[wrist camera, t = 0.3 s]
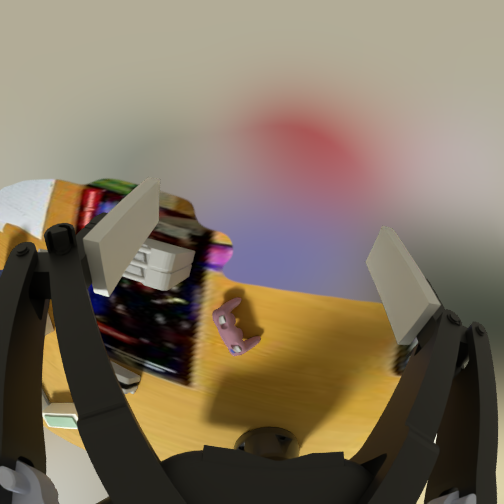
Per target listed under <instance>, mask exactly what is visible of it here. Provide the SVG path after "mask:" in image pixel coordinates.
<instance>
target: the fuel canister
mask: <svg viewBox="0 0 504 504" xmlns="http://www.w3.org/2000/svg"><path fill="white" fill-rule="evenodd" d="M38 252H48V250H43V249H39V250H38ZM194 255H195V251H193V250H189V249H186V248H182V247H178V246H175V245H171V244H168V243H164V242H160V241H157V240H153V239H149V238H147V239H146V240H145V242H144V243H143V245H142V246H141V248H140V249H139V251H138V252H137V254H136V255H135V257H134V258H133V260H132V261H131V263H130V264H129V266H128V267H127V269H126V270H125V272H124V274H123V275H122V276H124V277H127V278H130V279H133V280H136V281H139V282H141V283H143V284H144V285H146V286H149V287H152V288H155V289H159V290H168V289H170V288H172V287H173V286H175V285H176V284H178V283H179V282H181V281H183V280H184V279H186V278H187V277H189V275H190V271H191V267H192V265H191V263H193V259H194Z"/></svg>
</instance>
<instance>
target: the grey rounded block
mask: <svg viewBox="0 0 504 504" xmlns="http://www.w3.org/2000/svg"><path fill="white" fill-rule="evenodd" d="M110 361H111V360H110ZM111 364H112V366H113V369H114V371H115V374H116V376H117V379H118V381H119V383H120V386H121V388H122V390H123V392H124V394H127V393H132V394H134V393H135V392H136V389H137V387H138V386H137V384H136V383H137V382H139V381H140V377H141V376H140V375H138V374H135V373H133V372H131V371H129V370H128V369H126V368H124V367H122V366H120V365H118V364H116V363H114V362H112V361H111Z"/></svg>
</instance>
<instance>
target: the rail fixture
mask: <svg viewBox="0 0 504 504" xmlns="http://www.w3.org/2000/svg"><path fill="white" fill-rule="evenodd" d="M53 331H54V329H53V326H52V323H51V320H50V317H49V314H48V315H47V322H46V330H45V335H47V334H49V333H51V332H53ZM42 416H43V418H44V420H45V421H46V423H47V424H48V426H49V427H56V428H69V429H78V428H77V420H78V414H77V411H76V408H75V405H74V403H51V404H50V402H49V400H48V398H47V396H46V394H45V392H44V390H43V388H42Z"/></svg>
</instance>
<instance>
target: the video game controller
mask: <svg viewBox="0 0 504 504" xmlns="http://www.w3.org/2000/svg"><path fill="white" fill-rule="evenodd" d="M241 300H242V299H241V298H234V299H231V300H230V301H228V302H226V303H225V304H223V305H222V306H221V307H219V308H218V309H216V310H214V311H213V321H214V323H215V324H216V326H217V328H218V331H219V334H220V336H221V338H222V340H223V341H224V343H225V344H226V346H227V347H228V350H229V352H230V353H231V354H232V355H233V356H237V355H242V354H243V353H245V352H247V351H248V350H250V349H251V348H253V347H254V346H255V345H257V344H258V343H259V342H260V340H261V337H260V336H255V337H252V338H249V339H247V340H245V341H243V340H242V339H243V332H242V330H241V329H240V328H236V326H235V325H234V324H235V323H236V320H235V316H234V315H233V314H232V313H230V312H231V311H232V310H233V309H234V308H235V307H236V306H238V305H239V304H240V302H241Z"/></svg>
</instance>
